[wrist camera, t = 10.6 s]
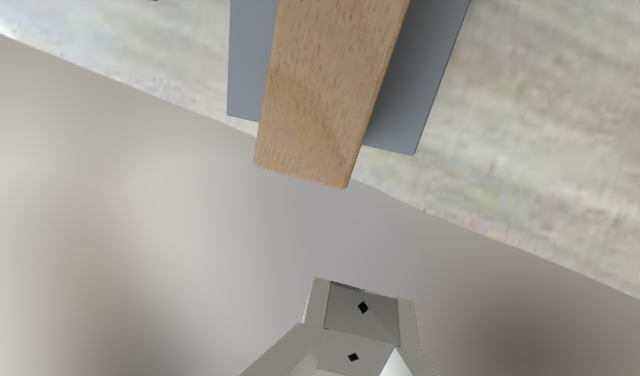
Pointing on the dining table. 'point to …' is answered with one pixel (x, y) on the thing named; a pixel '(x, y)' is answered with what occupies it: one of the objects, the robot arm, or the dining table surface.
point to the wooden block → (324, 84)
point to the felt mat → (399, 82)
